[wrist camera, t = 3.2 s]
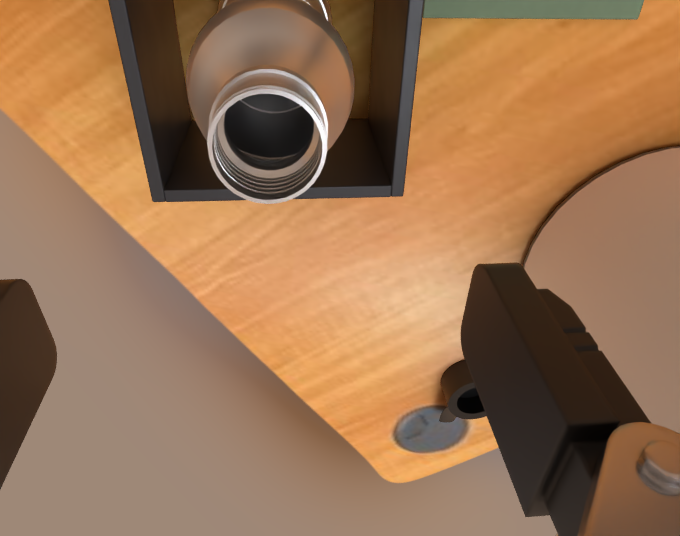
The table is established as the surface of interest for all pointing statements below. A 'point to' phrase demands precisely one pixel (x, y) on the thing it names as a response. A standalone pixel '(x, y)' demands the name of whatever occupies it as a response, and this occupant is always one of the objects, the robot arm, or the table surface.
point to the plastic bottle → (270, 94)
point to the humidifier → (623, 272)
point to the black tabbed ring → (460, 394)
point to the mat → (533, 9)
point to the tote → (191, 147)
